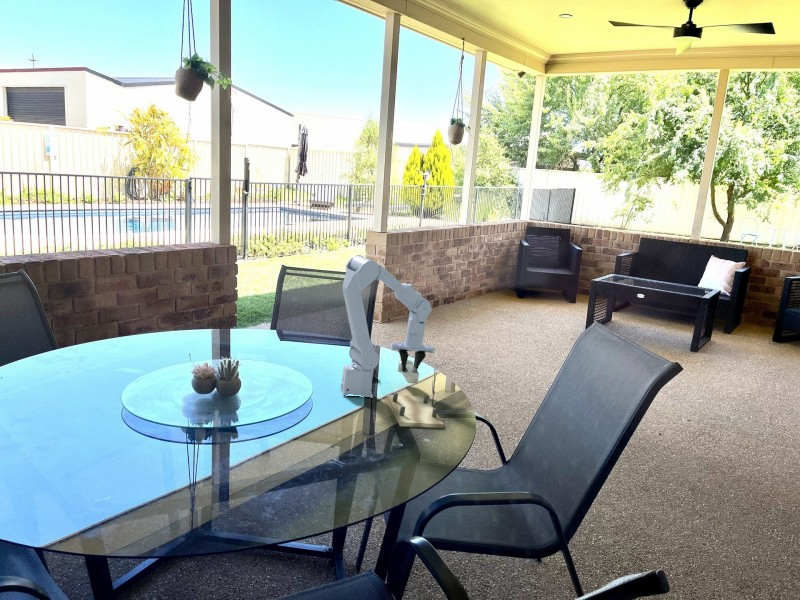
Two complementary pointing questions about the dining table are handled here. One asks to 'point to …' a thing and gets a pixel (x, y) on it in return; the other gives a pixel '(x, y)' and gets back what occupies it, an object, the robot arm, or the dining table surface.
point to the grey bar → (409, 372)
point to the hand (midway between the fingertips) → (408, 371)
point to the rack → (414, 411)
